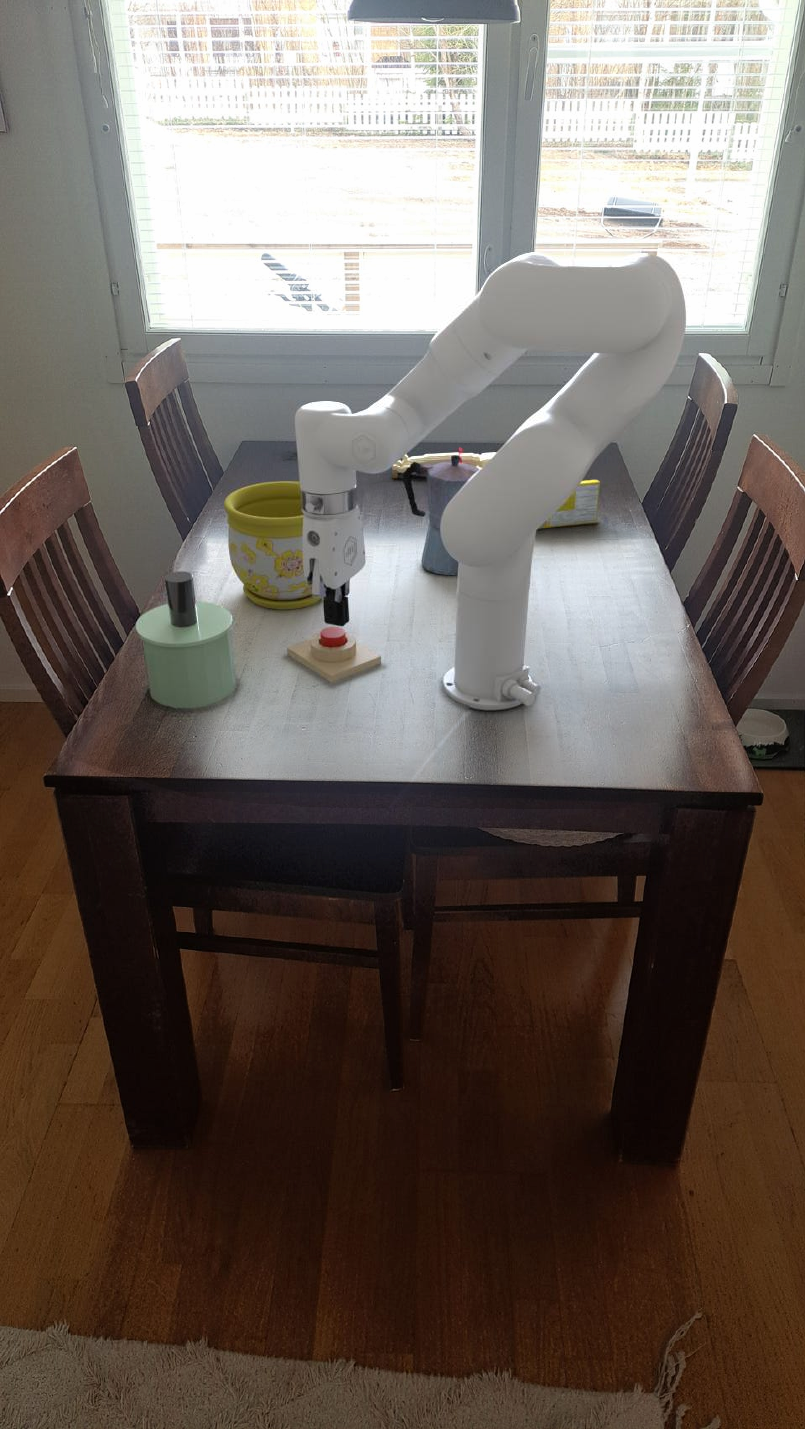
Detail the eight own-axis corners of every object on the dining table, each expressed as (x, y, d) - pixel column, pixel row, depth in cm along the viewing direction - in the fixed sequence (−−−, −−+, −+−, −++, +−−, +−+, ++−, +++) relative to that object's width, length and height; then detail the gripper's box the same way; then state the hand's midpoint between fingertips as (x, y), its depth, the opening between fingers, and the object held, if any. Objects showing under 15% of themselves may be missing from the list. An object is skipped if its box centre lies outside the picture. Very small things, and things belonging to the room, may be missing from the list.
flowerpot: (286, 563, 179) (281, 473, 170) (363, 591, 169) (361, 496, 160) (209, 596, 167) (199, 501, 158) (287, 628, 157) (280, 528, 148)
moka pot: (483, 580, 173) (489, 466, 162) (396, 573, 175) (395, 460, 165) (490, 559, 181) (496, 449, 170) (406, 552, 183) (407, 443, 173)
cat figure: (392, 487, 217) (509, 481, 215) (389, 447, 213) (508, 440, 210) (396, 473, 226) (508, 466, 223) (392, 434, 221) (507, 427, 218)
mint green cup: (251, 679, 143) (246, 616, 138) (203, 719, 134) (196, 652, 129) (183, 662, 148) (175, 600, 142) (132, 699, 138) (122, 634, 133)
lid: (251, 619, 138) (246, 567, 134) (196, 659, 129) (190, 604, 125) (174, 602, 143) (168, 551, 139) (116, 639, 133) (107, 586, 129)
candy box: (592, 520, 198) (597, 478, 193) (597, 523, 196) (601, 482, 192) (514, 527, 194) (517, 485, 190) (518, 531, 192) (521, 489, 188)
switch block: (381, 666, 147) (381, 645, 145) (331, 686, 142) (330, 664, 140) (336, 639, 154) (335, 619, 152) (287, 657, 149) (285, 636, 147)
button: (350, 643, 146) (350, 633, 145) (330, 651, 144) (330, 640, 143) (335, 635, 148) (335, 624, 147) (315, 642, 146) (315, 631, 145)
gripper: (326, 520, 128) (335, 649, 137) (378, 485, 139) (383, 606, 149) (275, 513, 130) (287, 640, 140) (331, 479, 142) (338, 598, 151)
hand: (337, 622), depth 144 cm, fingers closed
